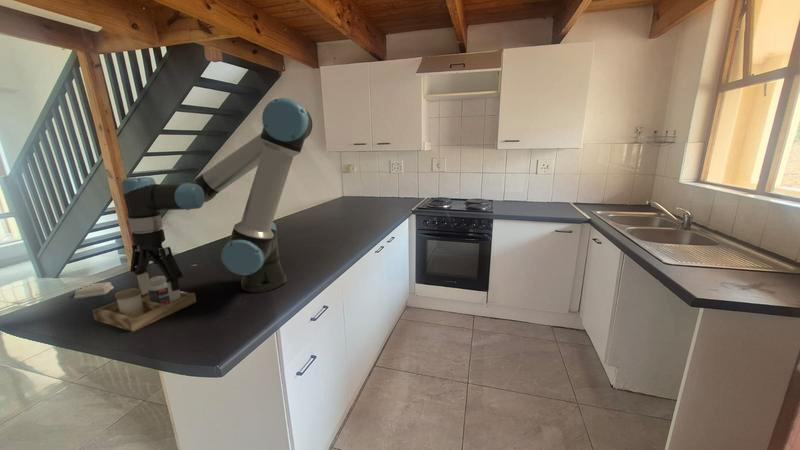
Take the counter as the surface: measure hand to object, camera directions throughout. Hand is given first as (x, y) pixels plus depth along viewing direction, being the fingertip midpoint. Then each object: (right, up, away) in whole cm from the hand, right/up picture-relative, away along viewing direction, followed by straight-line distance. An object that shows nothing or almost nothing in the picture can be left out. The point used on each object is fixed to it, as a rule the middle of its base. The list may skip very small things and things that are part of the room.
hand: (160, 296), depth 98 cm
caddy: (-1, -4, -3) cm, 5 cm away
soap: (-32, -2, +12) cm, 34 cm away
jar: (-3, -4, -7) cm, 8 cm away
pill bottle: (0, -3, +1) cm, 3 cm away
